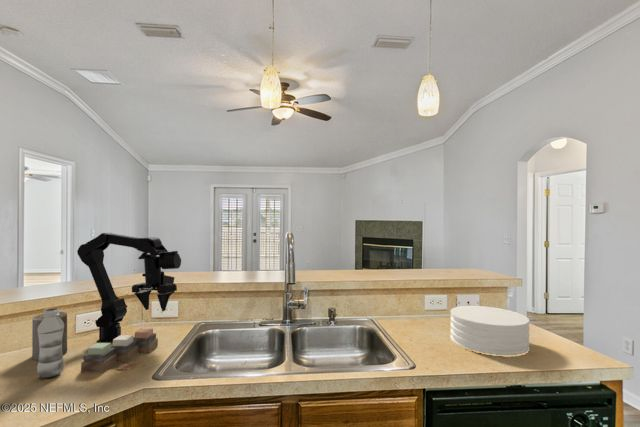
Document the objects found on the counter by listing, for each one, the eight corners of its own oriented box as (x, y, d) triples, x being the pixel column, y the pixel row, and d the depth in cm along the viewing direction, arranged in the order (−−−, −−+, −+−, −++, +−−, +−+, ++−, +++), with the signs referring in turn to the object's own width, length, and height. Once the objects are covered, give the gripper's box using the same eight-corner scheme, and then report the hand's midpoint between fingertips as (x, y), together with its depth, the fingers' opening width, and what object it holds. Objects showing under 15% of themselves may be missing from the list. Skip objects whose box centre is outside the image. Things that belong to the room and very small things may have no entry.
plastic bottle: (69, 372, 108) (70, 307, 108) (45, 382, 102) (47, 313, 102) (54, 369, 110) (55, 306, 111) (30, 378, 104) (32, 311, 104)
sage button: (87, 356, 110) (88, 348, 110) (96, 350, 115) (96, 342, 115) (102, 356, 110) (102, 348, 110) (110, 350, 115) (110, 342, 115)
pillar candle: (55, 347, 128) (55, 307, 128) (73, 351, 125) (73, 309, 125) (25, 358, 119) (25, 314, 119) (43, 362, 116) (43, 317, 116)
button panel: (81, 372, 109) (81, 356, 109) (119, 346, 131) (120, 332, 131) (126, 372, 109) (126, 356, 109) (157, 346, 131) (157, 332, 131)
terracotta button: (134, 339, 125) (134, 332, 125) (140, 335, 130) (140, 328, 130) (147, 339, 125) (147, 332, 125) (153, 335, 130) (153, 328, 130)
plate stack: (449, 350, 131) (449, 319, 131) (451, 328, 157) (451, 303, 157) (535, 363, 120) (536, 329, 121) (522, 337, 146) (523, 310, 146)
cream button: (112, 347, 118) (112, 339, 118) (120, 342, 122) (120, 335, 122) (126, 347, 118) (126, 339, 118) (133, 342, 122) (133, 335, 122)
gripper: (186, 266, 139) (189, 306, 139) (154, 266, 147) (156, 304, 147) (163, 271, 129) (165, 313, 129) (129, 271, 137) (132, 311, 137)
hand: (155, 310), depth 136 cm, fingers open, 9 cm apart
